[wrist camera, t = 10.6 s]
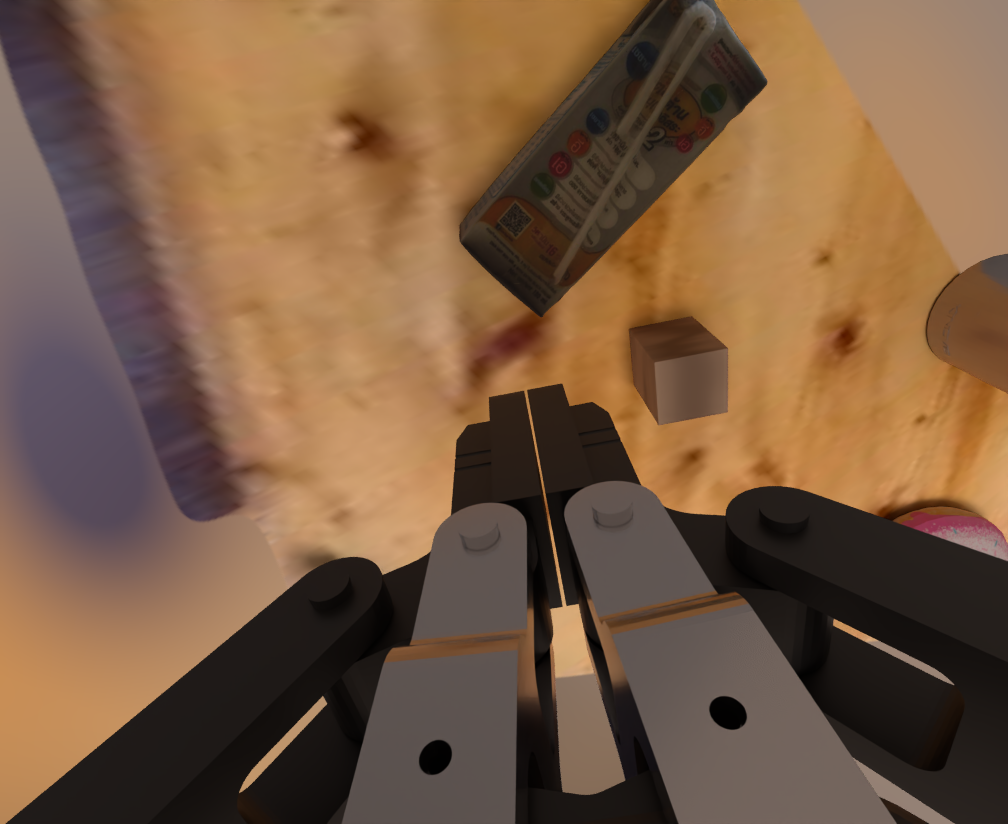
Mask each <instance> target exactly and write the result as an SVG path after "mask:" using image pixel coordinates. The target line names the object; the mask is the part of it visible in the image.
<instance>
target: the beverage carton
mask: <svg viewBox="0 0 1008 824" xmlns="http://www.w3.org/2000/svg"><path fill="white" fill-rule="evenodd" d="M766 85H767V79H766V78H765V76H764V75H763V73H762V71H761V70H760V68H759V67H758V65H757V64H756V63H755V61H754V60H753V58H752V57H751V55H750V54H749V52H748V51H747V49H746V48H745V47H744V46H743V44H742V43H741V41H740V40H739V39H738V37H737V36H736V34H735V33H734V31H733V30H732V28H731V27H730V25H729V23H728V22H727V20H726V18H725V17H724V15H723V14H722V12H721V11H720V10H719V8H718V7H717V5H716V3H715V1H714V0H650V1H649V3H648V4H647V5H646V6H645V7H644V8H643V9H642V11H641V12H640V13H639V14H638V15H637V16H636V18H635V19H634V20H633V21H632V23H631V24H630V25H629V26H628V28H627V29H626V30H625V31H624V33H623V34H622V35H621V36H620V37H619V39H618V40H617V41H616V42H615V43H614V44H613V45H612V47H611V48H610V49H609V50H608V51H607V52H606V54H605V55H604V56H603V57H602V58H601V59H600V60H599V61H598V63H597V64H596V65H595V66H594V67H593V68H592V70H591V71H590V72H589V73H588V74H587V76H586V77H585V78H584V79H583V80H582V81H581V82H580V83H579V85H578V86H577V87H576V88H575V89H574V90H573V91H572V92H571V94H570V95H569V96H568V97H567V98H566V99H565V100H564V102H563V103H562V104H561V105H560V106H559V107H558V108H557V110H556V111H555V112H554V113H553V114H552V115H551V116H550V117H549V118H548V120H547V121H546V122H545V123H544V124H543V125H542V127H541V128H540V129H539V130H538V131H537V132H536V133H535V135H534V136H533V137H532V138H531V139H530V141H529V142H528V143H527V144H526V145H525V146H524V147H523V149H522V150H521V151H520V152H519V153H518V154H517V155H516V157H515V158H514V159H513V160H512V161H511V163H510V164H509V165H508V166H507V167H506V169H505V170H504V171H503V172H502V173H501V174H500V176H499V177H498V178H497V179H496V180H495V181H494V183H493V184H492V185H491V186H490V187H489V189H488V190H487V191H486V192H485V194H484V195H483V196H482V197H481V198H480V200H479V201H478V202H477V204H476V205H475V206H474V207H473V208H472V209H471V211H470V212H469V214H468V215H467V216H466V218H465V219H464V220H463V222H462V223H461V224H460V234H459V237H460V242H461V244H462V245H463V246H464V247H465V248H466V250H467V251H468V252H469V253H470V254H471V255H472V256H473V257H474V258H475V259H476V260H477V261H478V262H479V263H480V264H481V265H482V266H483V267H484V268H485V269H486V270H487V271H488V272H489V273H490V274H491V275H492V276H493V277H494V278H495V279H496V280H498V281H499V282H500V283H501V284H502V285H503V286H504V287H505V288H506V289H508V290H509V291H510V292H511V293H512V294H513V295H514V296H516V297H517V298H518V299H519V300H520V301H522V302H523V303H524V304H525V305H526V306H528V307H529V308H530V309H531V310H532V311H534V312H535V313H536V314H537V315H538V316H540V317H543V315H544V314H545V312H547V311H548V310H549V309H550V308H551V307H552V306H553V305H554V304H555V303H557V302H558V301H559V300H560V299H561V298H562V297H563V296H564V295H565V293H566V292H567V291H568V290H569V289H570V288H571V287H572V286H573V285H574V284H575V283H576V282H577V281H578V280H579V279H580V278H581V277H582V276H583V275H584V274H585V273H586V272H587V271H588V270H589V269H590V268H591V267H592V266H593V265H594V264H595V263H596V262H597V261H598V260H599V259H600V258H601V257H602V256H603V255H604V254H605V253H606V252H607V251H608V250H609V248H610V247H611V246H612V245H613V244H614V243H615V242H616V241H617V240H618V239H619V238H620V237H621V236H622V235H623V234H624V233H625V232H626V231H627V230H628V229H629V228H630V227H631V226H632V225H633V224H634V223H635V222H636V221H637V220H638V219H639V218H640V217H641V216H642V215H643V213H644V212H645V211H646V210H647V209H648V208H649V207H650V206H651V205H652V204H653V203H654V202H655V201H656V200H657V199H658V198H659V197H660V196H661V195H662V194H663V193H664V192H665V191H666V189H667V188H668V187H669V186H670V185H671V184H672V183H673V182H674V181H675V180H676V179H677V178H678V177H679V176H680V175H681V174H682V173H683V172H684V171H685V170H686V169H687V168H688V167H689V166H690V165H691V163H692V162H693V161H694V160H695V159H696V158H697V157H698V156H699V155H700V154H701V153H702V152H703V151H704V150H705V149H706V148H707V147H708V146H709V144H710V143H711V142H712V141H713V140H714V139H715V138H716V137H717V136H718V135H719V134H720V133H721V132H722V131H723V130H724V128H725V127H726V125H727V124H728V122H729V121H730V120H732V119H733V118H734V117H736V116H737V115H738V114H739V113H741V112H742V111H743V109H744V108H745V106H747V105H748V104H749V103H750V102H751V101H752V100H753V99H754V98H755V97H756V96H757V95H758V94H759V93H760V92H761V91H762V90H763V88H764V87H765V86H766Z"/></svg>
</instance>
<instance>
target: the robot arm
mask: <svg viewBox="0 0 1008 824" xmlns="http://www.w3.org/2000/svg"><path fill="white" fill-rule="evenodd" d="M927 337H928V342H929V345H930V347H931V349H932V351H933V353H934V354H935V355H936V356H937V357H938V358H939V359H941V360H943V361H945V362H947V363H949V364H951V365H953V366H955V367H957V368H959V369H961V370H963V371H965V372H967V373H969V374H971V375H973V376H975V377H977V378H978V379H980V380H982V381H984V382H986V383H988V384H990V385H992V386H994V387H996V388H998V389H1000V390H1002V391H1004V392H1006V393H1008V254H1004V255H999V256H994V257H991V258H988V259H986V260H983V261H980V262H979V263H977V264H975V265H973V266H972V267H970V268H968V269H967V270H965V271H964V272H963V273H961V274H960V275H959V276H958V277H956V278H955V279H954V280H953V281H952V282H951V283H950V284H949V285H948V286H947V287H946V288H945V290H944V291H943V293H942V294H941V295H940V297H939V298H938V300H937V301H936V303H935V305H934V307H933V309H932V311H931V314H930V318H929V321H928V328H927ZM527 392H528V398H529V403H530V409H531V415H532V420H533V426H534V431H535V437H536V443H537V448H538V454H539V459H540V465H541V471H542V476H543V482H544V487H545V493H546V498H547V504H548V509H549V514H550V520H551V525H552V530H553V536H554V541H555V546H556V552H557V557H558V562H559V568H560V573H561V579H562V584H563V589H564V595H565V600H566V605H567V606H569V605H575V604H579V608H580V613H581V618H582V623H583V628H584V634H585V640H586V645H587V650H588V653H589V657H590V660H591V663H592V667H593V670H594V673H595V676H596V680H597V684H598V687H599V690H600V694H601V697H602V700H603V704H604V707H605V711H606V714H607V717H608V721H609V724H610V727H611V731H612V734H613V737H614V741H615V744H616V748H617V751H618V754H619V758H620V761H621V765H622V769H623V773H624V777H625V781H624V782H622V783H619V784H617V785H615V786H613V787H611V788H609V789H606V790H604V791H602V792H600V793H597V794H593V795H579V794H572V793H565V792H563V790H562V782H561V772H560V757H559V738H558V720H557V701H556V682H555V663H554V651H553V645H552V638H553V625H552V618H551V611H550V609H552V608H558V607H563V606H562V600H561V594H560V589H559V583H558V577H557V571H556V565H555V559H554V554H553V548H552V542H551V536H550V530H549V525H548V519H547V513H546V507H545V501H544V496H543V490H542V484H541V478H540V473H539V467H538V462H537V457H536V451H535V446H534V441H533V435H532V430H531V425H530V419H529V414H528V409H527V404H526V398H525V393H524V391H520V392H514V393H509V394H504V395H498V396H493V397H489V412H490V421H488V422H482V423H477V424H471V425H468V426H467V427H466V428H465V430H464V431H463V432H462V434H461V435H460V436H459V438H458V439H457V442H456V459H455V472H454V483H453V496H452V510H451V516H450V517H448V518H447V519H446V520H445V521H444V522H443V523H442V524H441V525H440V527H439V528H438V530H437V531H436V533H435V536H434V539H433V544H432V549H431V552H429V553H428V554H427V555H425V556H424V557H422V558H420V559H419V560H417V561H415V562H412V563H410V564H408V565H406V566H403V567H401V568H398V569H396V570H394V571H391V572H389V573H387V574H384V575H382V573H381V571H380V569H379V567H378V566H377V565H376V564H375V563H374V562H372V561H370V560H368V559H365V558H360V557H347V558H341V559H337V560H333V561H331V562H328V563H325V564H323V565H321V566H319V567H317V568H315V569H314V570H312V571H311V572H309V573H308V574H306V575H305V576H304V577H302V578H301V579H300V580H299V581H298V582H296V583H295V584H294V585H293V586H292V587H290V588H289V589H288V590H287V591H285V592H284V593H283V594H282V595H281V596H279V597H278V598H277V599H276V600H275V601H273V602H272V603H271V604H270V605H269V606H267V608H265V609H264V610H263V611H261V612H260V613H259V614H258V615H257V616H256V617H254V618H253V619H252V620H251V621H249V622H248V623H247V624H246V625H244V626H243V627H242V628H241V629H240V630H238V631H237V632H236V633H235V634H234V635H232V636H231V637H230V638H229V639H228V640H226V641H225V642H224V643H223V644H222V645H220V646H219V647H218V648H217V649H216V650H215V651H213V652H212V653H211V654H210V655H208V656H207V657H206V658H205V659H204V660H202V661H201V662H200V663H199V664H198V665H196V666H195V667H194V668H193V669H191V670H190V671H189V672H188V673H187V674H185V675H184V676H183V677H182V678H181V679H179V680H178V681H177V682H176V683H175V684H173V685H172V686H171V687H170V688H169V689H167V690H166V691H165V692H164V693H163V694H161V695H160V696H159V697H158V698H156V699H155V700H154V701H153V702H152V703H150V704H149V705H148V706H147V707H146V708H145V709H143V710H142V711H141V712H140V713H138V714H137V715H136V716H135V717H134V718H132V719H131V720H130V721H129V722H128V723H126V724H125V725H124V726H123V727H121V729H119V730H118V731H117V732H115V733H114V734H113V735H112V736H111V737H109V738H108V739H107V740H106V741H105V742H103V743H102V744H101V745H100V746H99V747H97V749H95V750H94V751H93V752H91V753H90V754H89V755H88V756H87V757H85V758H84V759H83V760H82V761H81V762H79V763H78V764H77V765H76V766H75V767H73V768H72V769H71V770H70V771H68V772H67V773H66V774H65V775H64V776H62V777H61V778H60V779H59V780H58V781H57V782H55V783H54V784H53V785H52V786H50V787H49V788H48V789H47V790H46V791H44V792H43V793H42V794H41V795H39V796H38V797H37V798H36V799H35V800H33V801H32V802H31V803H30V804H29V805H27V806H26V807H25V808H24V809H23V810H22V811H20V812H19V813H18V814H17V815H15V816H14V817H13V818H12V819H11V820H10V821H8V822H7V823H6V824H929V823H927V822H925V821H924V820H922V819H920V818H918V817H917V816H915V815H913V814H911V813H910V812H908V811H906V810H905V809H903V808H901V807H899V806H898V805H896V804H894V803H891V802H889V801H887V800H885V799H883V798H880V797H879V796H878V795H877V793H876V792H875V791H874V789H873V787H872V786H871V784H870V783H869V782H868V780H867V779H866V777H865V776H864V774H863V773H862V771H861V770H860V768H859V767H858V765H857V764H856V762H855V761H854V759H853V758H855V759H856V760H858V761H859V762H861V763H863V764H864V765H866V766H867V767H869V768H870V769H872V770H873V771H875V772H876V773H878V774H879V775H881V776H883V777H884V778H886V779H887V780H889V781H890V782H892V783H893V784H895V785H896V786H898V787H899V788H901V789H902V790H904V791H906V792H907V793H909V794H910V795H912V796H913V797H915V798H916V799H918V800H919V801H921V802H922V803H924V804H926V805H927V806H929V807H930V808H932V809H933V810H935V811H936V812H938V813H939V814H941V815H942V816H944V817H946V818H947V819H949V820H950V821H952V822H953V823H955V824H1008V561H1006V560H1003V559H1000V558H997V557H995V556H992V555H989V554H986V553H983V552H980V551H977V550H974V549H971V548H969V547H966V546H963V545H960V544H957V543H954V542H951V541H948V540H946V539H943V538H940V537H937V536H934V535H931V534H928V533H925V532H922V531H920V530H917V529H914V528H911V527H908V526H905V525H902V524H899V523H897V522H894V521H891V520H888V519H885V518H882V517H879V516H876V515H873V514H871V513H868V512H865V511H862V510H859V509H856V508H853V507H850V506H847V505H845V504H842V503H839V502H836V501H833V500H830V499H827V498H824V497H822V496H819V495H816V494H813V493H810V492H807V491H803V490H800V489H795V488H790V487H781V486H767V487H759V488H754V489H751V490H748V491H745V492H743V493H741V494H739V495H737V496H736V497H735V498H734V499H732V501H731V502H730V503H729V505H728V507H727V509H726V516H722V515H703V514H690V513H684V512H679V511H675V510H672V509H669V508H666V507H664V506H663V505H662V503H661V502H660V500H659V499H658V497H657V496H656V495H655V494H654V493H653V492H652V491H650V490H649V489H647V488H645V487H643V486H641V484H640V482H639V479H638V477H637V475H636V473H635V470H634V468H633V466H632V464H631V462H630V459H629V457H628V455H627V453H626V450H625V448H624V446H623V444H622V442H621V440H620V437H619V435H618V433H617V430H615V426H614V424H613V421H612V419H611V417H610V415H609V413H608V412H607V411H605V410H604V409H602V408H601V407H599V406H598V405H596V404H595V403H593V402H590V403H585V404H579V405H574V406H569V403H568V400H567V397H566V394H565V391H564V388H563V385H562V384H557V385H551V386H546V387H541V388H535V389H530V390H527ZM834 619H836V620H838V621H840V622H842V623H844V624H846V625H848V626H850V627H852V628H854V629H856V630H858V631H860V632H862V633H864V634H867V635H869V636H871V637H873V638H875V639H877V640H879V641H881V642H883V643H885V644H887V645H889V646H891V647H893V648H895V649H897V650H899V651H901V652H903V653H905V654H907V655H909V656H911V657H913V658H915V659H917V660H919V661H921V662H923V663H925V664H927V665H929V666H931V667H933V668H935V669H936V670H938V671H939V672H941V673H942V674H943V675H945V676H946V677H947V678H948V679H949V680H950V681H952V682H953V683H954V685H952V684H949V683H947V682H944V681H942V680H940V679H938V678H936V677H934V676H932V675H930V674H928V673H926V672H924V671H922V670H920V669H918V668H916V667H914V666H912V665H910V664H908V663H906V662H904V661H902V660H900V659H898V658H896V657H894V656H892V655H890V654H888V653H886V652H884V651H882V650H880V649H878V648H876V647H874V646H872V645H870V644H868V643H866V642H864V641H862V640H860V639H858V638H856V637H854V636H852V635H850V634H848V633H847V632H845V631H843V630H841V629H839V628H837V627H835V626H833V620H834ZM322 696H323V697H324V698H325V700H326V702H327V705H326V706H325V707H324V708H323V709H322V710H321V711H320V712H319V713H318V714H317V715H316V716H315V718H314V719H313V720H312V721H311V722H310V723H309V724H308V725H307V726H306V727H305V728H304V729H303V730H302V731H301V732H300V733H299V734H298V735H297V737H296V738H295V739H294V740H293V741H292V742H291V743H290V744H289V745H288V746H287V747H286V748H285V749H284V750H283V751H282V753H281V754H280V755H279V756H278V757H277V758H276V759H275V760H274V761H273V762H272V763H271V764H270V765H269V766H268V767H267V768H266V769H265V770H264V771H263V772H262V774H261V775H260V776H259V777H258V778H257V779H256V780H255V781H254V782H253V783H252V784H251V785H250V786H249V787H248V788H246V789H245V790H244V791H243V792H241V793H239V791H240V789H241V786H242V784H243V782H244V781H245V779H246V777H247V776H248V774H249V773H250V772H251V770H252V769H253V768H254V767H255V766H256V765H257V764H258V762H259V761H260V760H261V759H262V758H263V757H264V756H265V755H266V754H267V753H268V752H269V751H270V750H271V749H272V748H273V747H274V746H275V745H276V744H277V743H278V742H279V741H280V740H281V739H282V738H283V737H284V735H285V734H286V733H287V732H288V731H289V730H290V729H291V728H292V727H293V726H294V725H295V724H296V723H297V722H298V721H299V720H300V719H301V718H302V717H303V716H304V715H305V714H306V713H307V712H308V711H309V710H310V709H311V708H312V706H313V705H314V704H315V703H316V702H317V701H318V700H319V699H320V698H321V697H322ZM852 757H853V758H852Z"/></svg>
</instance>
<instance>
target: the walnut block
mask: <svg viewBox="0 0 1008 824" xmlns="http://www.w3.org/2000/svg"><path fill="white" fill-rule="evenodd" d="M629 336H630V347H631V358H632V369H633V381H634V386H635V387H636V389H637V391H638V392H639V394H640V396H641V397H642V399H643V400H644V402H645V404H646V405H647V407H648V409H649V410H650V412H651V414H652V415H653V417H654V418H655V420H656V422H657V423H658V425H663V424H668V423H673V422H679V421H684V420H689V419H694V418H700V417H705V416H710V415H716V414H721V413H726V412H728V348H727V347H726V346H725V345H724V344H722V343H721V342H720V341H719V340H718V339H717V338H716V337H715V336H713V335H712V334H711V333H710V332H709V331H708V330H707V329H705V328H704V327H703V326H702V325H701V324H700V323H699V322H698V321H696V320H695V319H694V318H693V317H692V316H691V317H686V318H681V319H676V320H671V321H666V322H661V323H656V324H651V325H646V326H641V327H635V328H630V329H629Z"/></svg>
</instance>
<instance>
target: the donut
mask: <svg viewBox="0 0 1008 824" xmlns="http://www.w3.org/2000/svg"><path fill="white" fill-rule="evenodd" d="M892 521H894V522H897V523H899V524H902V525H905V526H908V527H911V528H914V529H917V530H920V531H922V532H925V533H928V534H931V535H934V536H937V537H940V538H943V539H946V540H948V541H951V542H954V543H957V544H960V545H963V546H966V547H969V548H971V549H974V550H977V551H980V552H983V553H986V554H989V555H992V556H995V557H997V558H1000V559H1003V560H1006V561H1008V544H1007V542H1006V540H1005V538H1004V536H1003V533H1002V532H1001V531H1000V530H999V529H998V528H997V527H996V526H995V525H994V524H992V523H991V522H989V521H988V520H987V519H985V518H983V517H981V516H980V515H978V514H976V513H972V512H969V511H965V510H962V509H958V508H954V507H942V506H940V507H929V508H924V509H920V510H916V511H912V512H909V513H907V514H905V515H902V516H900V517H897V518H896V519H894V520H892Z"/></svg>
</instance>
